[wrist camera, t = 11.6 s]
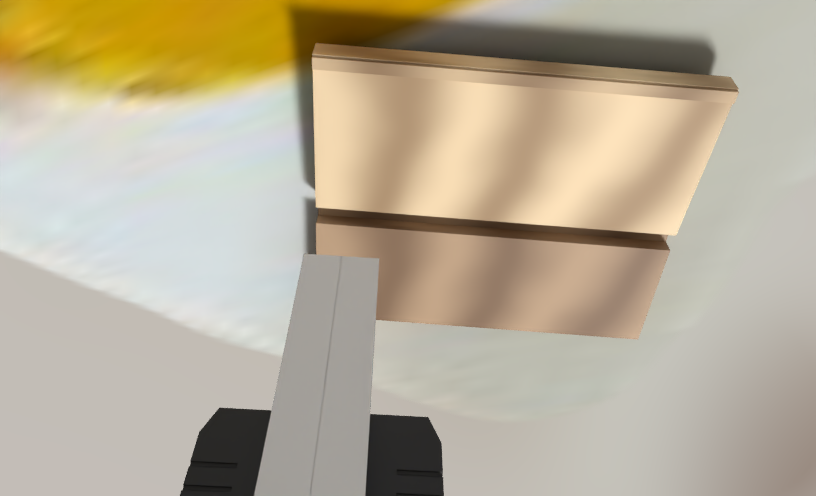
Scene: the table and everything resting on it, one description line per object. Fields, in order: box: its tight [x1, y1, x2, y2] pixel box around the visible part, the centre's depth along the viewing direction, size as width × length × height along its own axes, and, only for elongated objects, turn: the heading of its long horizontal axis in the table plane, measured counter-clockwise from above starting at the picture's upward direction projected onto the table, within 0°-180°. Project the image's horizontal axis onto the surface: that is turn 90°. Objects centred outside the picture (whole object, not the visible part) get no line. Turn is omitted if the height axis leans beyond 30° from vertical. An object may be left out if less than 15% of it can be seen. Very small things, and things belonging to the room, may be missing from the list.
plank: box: [312, 43, 739, 235], centre depth 35 cm, size 20×9×1 cm, turn 86°
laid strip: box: [316, 208, 670, 339], centre depth 41 cm, size 20×8×1 cm, turn 86°
